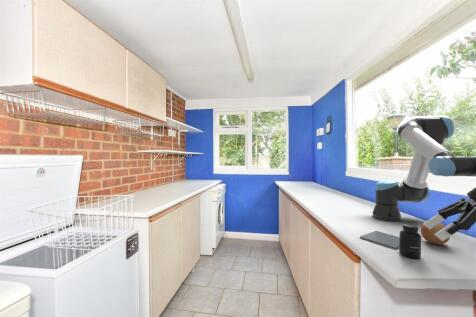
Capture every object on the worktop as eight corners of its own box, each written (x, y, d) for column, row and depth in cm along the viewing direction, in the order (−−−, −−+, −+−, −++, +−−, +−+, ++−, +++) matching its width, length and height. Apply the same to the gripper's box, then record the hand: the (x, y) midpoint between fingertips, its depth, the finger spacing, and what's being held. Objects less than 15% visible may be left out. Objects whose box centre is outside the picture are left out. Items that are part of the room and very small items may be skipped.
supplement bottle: (414, 261, 81) (414, 229, 81) (395, 253, 88) (395, 223, 88) (425, 257, 84) (425, 226, 84) (405, 250, 90) (405, 221, 90)
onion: (438, 249, 91) (438, 225, 91) (414, 240, 101) (415, 218, 101) (456, 247, 93) (456, 224, 93) (431, 238, 103) (431, 217, 103)
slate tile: (376, 232, 112) (376, 230, 112) (411, 241, 99) (411, 240, 99) (359, 238, 104) (359, 236, 104) (395, 249, 91) (395, 247, 91)
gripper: (525, 211, 63) (455, 253, 70) (480, 196, 85) (430, 229, 92) (499, 191, 65) (433, 234, 72) (461, 182, 87) (414, 215, 94)
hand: (431, 231), depth 82 cm, fingers open, 13 cm apart
